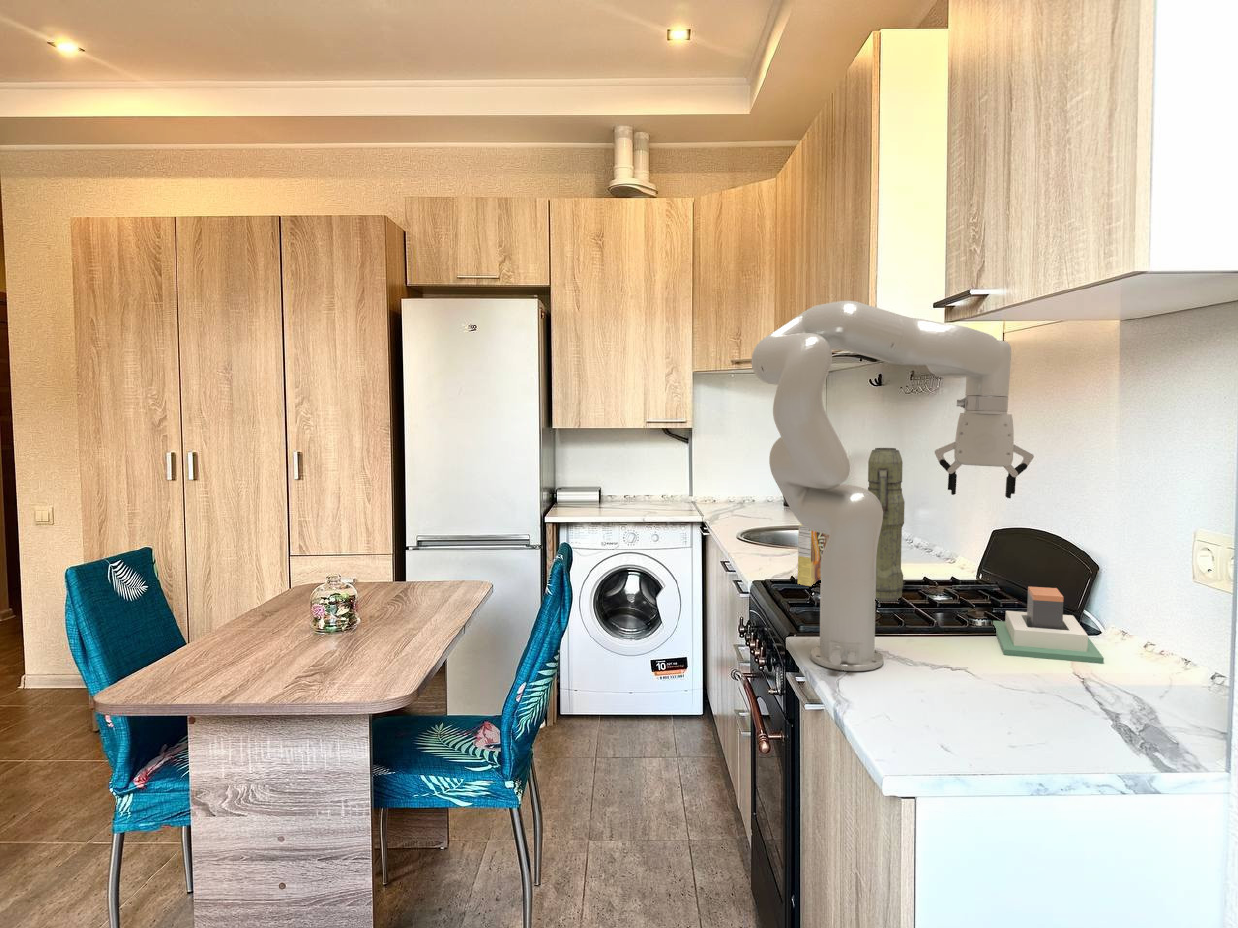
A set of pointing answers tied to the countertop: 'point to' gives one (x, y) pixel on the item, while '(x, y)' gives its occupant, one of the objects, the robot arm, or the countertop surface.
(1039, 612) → the plug
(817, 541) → the candy box
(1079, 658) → the board
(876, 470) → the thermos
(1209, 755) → the countertop surface
